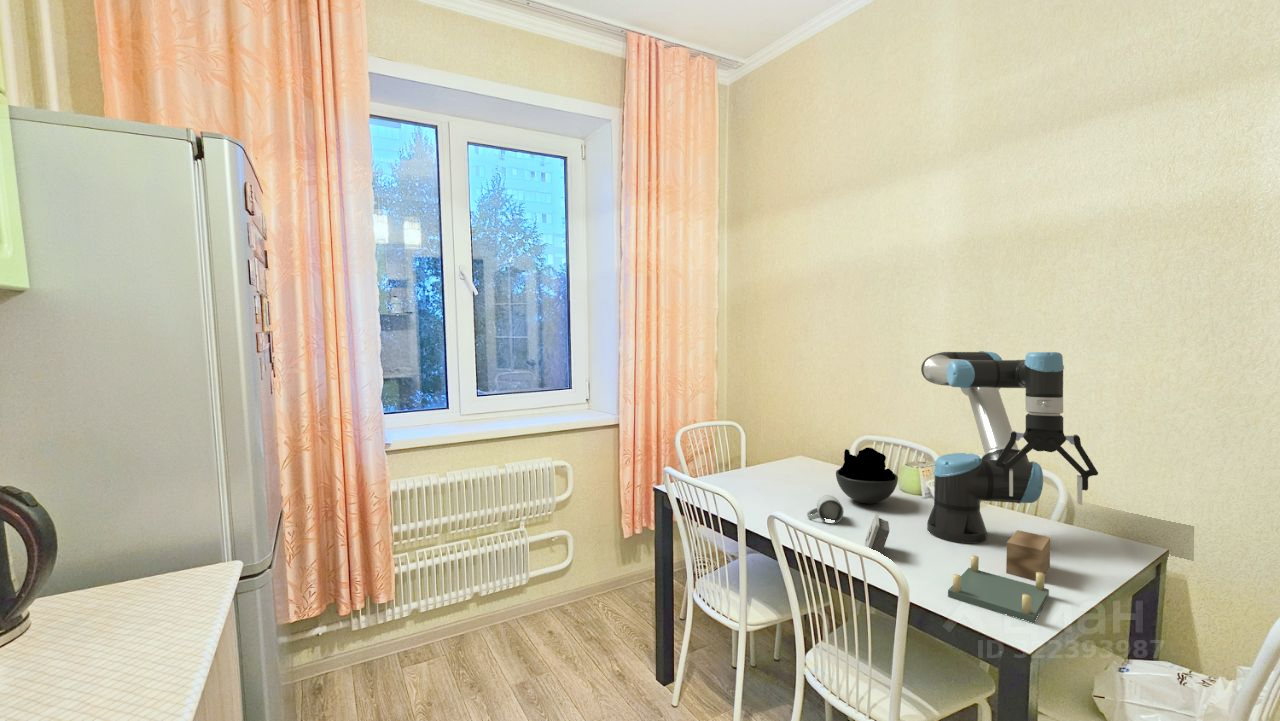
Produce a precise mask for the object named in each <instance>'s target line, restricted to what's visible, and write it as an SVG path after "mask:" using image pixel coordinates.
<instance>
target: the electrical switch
mask: <svg viewBox="0 0 1280 721" xmlns="http://www.w3.org/2000/svg"><path fill="white" fill-rule="evenodd" d="M871 520H872V521H871V523H870V526H869V529H868V531H867V534H866V538H865V542H864V547H865V546H866V547H869V548H871V549H873V550H876V551H878V552H880V553H882V554H883V551H884V549H885V545H886V543H887V540H888V537H889V533H890V532H891V531H890V526H889V525H890V523H889V520H885V519H883V518H882V517H881V518H880V517H879V514H877V513H875V514H874V515H873V518H872V519H871Z"/></svg>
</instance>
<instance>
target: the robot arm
mask: <svg viewBox="0 0 1280 721" xmlns="http://www.w3.org/2000/svg"><path fill="white" fill-rule="evenodd" d="M1063 358H1064V357H1063V354H1062V353H1061V352H1057V351H1052V352H1051V351H1049V352H1048V351H1046V352H1045V351H1043V352H1040V351H1038V352H1037V351H1036V352H1035V351H1034V352H1033V351H1032V352H1031V351H1030V352H1028V353H1026V355H1025V358H1024V359H1012V360H1011V359H1003V358H1002V357H1001V356H1000V355H999V354H998V353H996V352H992V351H984V350H979V351H941V352H937V353H933V354H931V355H930V356H929V355H928V356H927V357H926V358H925V359H924V360H923V361H922V364H921V368H920V369H921V370H920V371H921V375H922V377H923V379H925V380H926V381H928V382H929V383H932V384H934V385H938V386H947V387H949V386H950V387H952V388H959V389H960V390H961V392H962V394H963V395H965V396H967V397H968V399H969V402H970V407H971V410H972V413H973V417H974V420H975V424H976V427H977V430H978V434H979V438H980V441H981V445H982V449H983V452H984V454H983V455H982V456H980V455H978V454H974V453H965V452H964V453H963V452H957V453H956V452H955V453H954V452H953V453H947V454H942V455H940V456H939V457H937V458H936V459H935V462H934V472H933V475H934V482H933V483H934V486H933V487H934V488H933V490H934V494H933V496H934V498H933V500H934V501H933V507H932V509H931V512H930V514H929V517H928V519H927V522H926V529H927V531H929V532H930V535H932V534H933V535H932V536H934V535H935V537H937V538H939V539H942V540H945V541H949V542H953V541H954V543H962V544H978V543H979V544H980V543H984V542H985V541H987V539H988V538H987V536H988V535H987V534H988V533H987V527H986V525H985V522H984V519H983V516H982V513H981V502H997V503H1013V504H1015V503H1016V504H1032V503H1036V502H1037V501H1038V500H1039V498H1040V497H1041V495H1042V491H1043V488H1044V486H1043V485H1044V472H1043V468H1042V466H1041V464H1039V463H1038V462H1036V461H1032V460H1031V461H1030V460H1029V457H1028V453H1029V452H1031V451H1032V450H1033V451H1036V452H1047V453H1053V452H1056V451H1057V452H1058V453H1059V455H1061V456H1062V457H1063V458H1064V459H1065V460H1066V461H1067V462H1068V463H1069V464H1070V465H1071V466H1072V467H1073V468H1074V469H1075V470H1076V471H1077V473H1079V475H1076V491H1077V492H1076V503H1077V505H1083V491H1088V490H1089V478H1090V477H1093V476H1098V475H1099V471H1098V470H1097V469H1096V467H1095V465H1094V463H1093V462H1092V460H1091V458H1090V457H1089V455H1088V454H1087V452H1086V451H1085V449H1084V448H1083V446H1082V444H1081V443H1082V442H1081V437H1080V436H1079V435H1078V434H1073V435H1065V434H1064V416H1063V415H1061V414H1063V413H1064V370H1065V365H1064V359H1063ZM1000 389H1025V394H1024V395H1025V412H1026V413H1027V414H1026V415H1025V431H1024V432H1017V431H1015V430H1013V429H1012V426H1011V422H1010V421H1009V417H1008V415H1007V412H1006V408H1005V404H1004V402H1003V399H1002V397H1001V394H1000ZM1021 439H1024V440H1025V441H1026V442H1027V443H1026V444H1025V445H1024V446H1023V448H1021V449H1020V448H1019V447H1018V444H1017V442H1019V441H1020V440H1021ZM1066 441H1067V442H1069V444H1070V445H1072V446H1073V445H1074V447H1075V449H1076V451H1077V452H1078V454H1079V456H1080V457H1081V459H1082V460H1083V462H1084V464H1085V465H1086V467H1087V468H1088V469H1086V470H1085V469H1084V467H1082V465H1080V464H1079V463H1078V462H1077V461H1076V460H1075V459H1074V457H1073V456H1072V455H1070V454H1069V452H1067V451H1066V449H1064V448H1063V447H1062V445H1063V444H1064V443H1065V442H1066ZM929 532H928V533H929Z"/></svg>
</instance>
